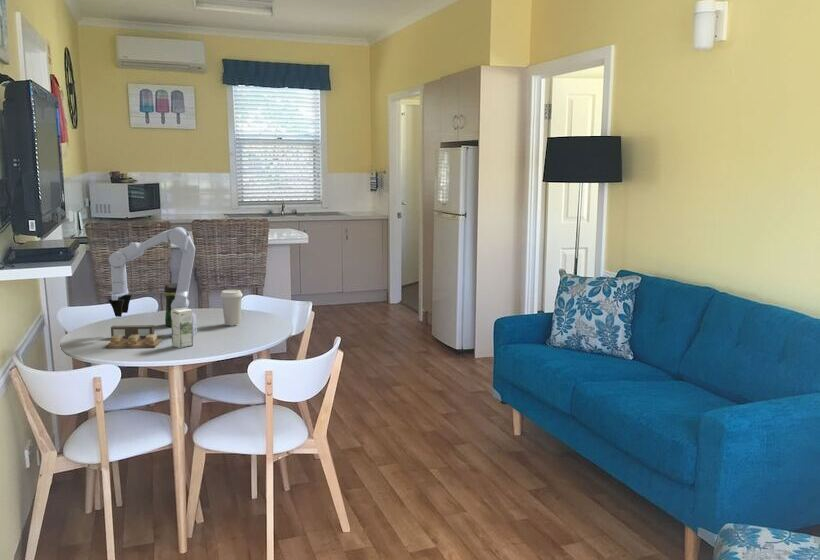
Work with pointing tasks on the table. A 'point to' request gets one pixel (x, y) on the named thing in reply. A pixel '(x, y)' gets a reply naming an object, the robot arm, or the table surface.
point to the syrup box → (182, 327)
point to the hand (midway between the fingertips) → (121, 314)
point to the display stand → (134, 341)
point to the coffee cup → (231, 306)
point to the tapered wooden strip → (132, 330)
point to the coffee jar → (169, 300)
